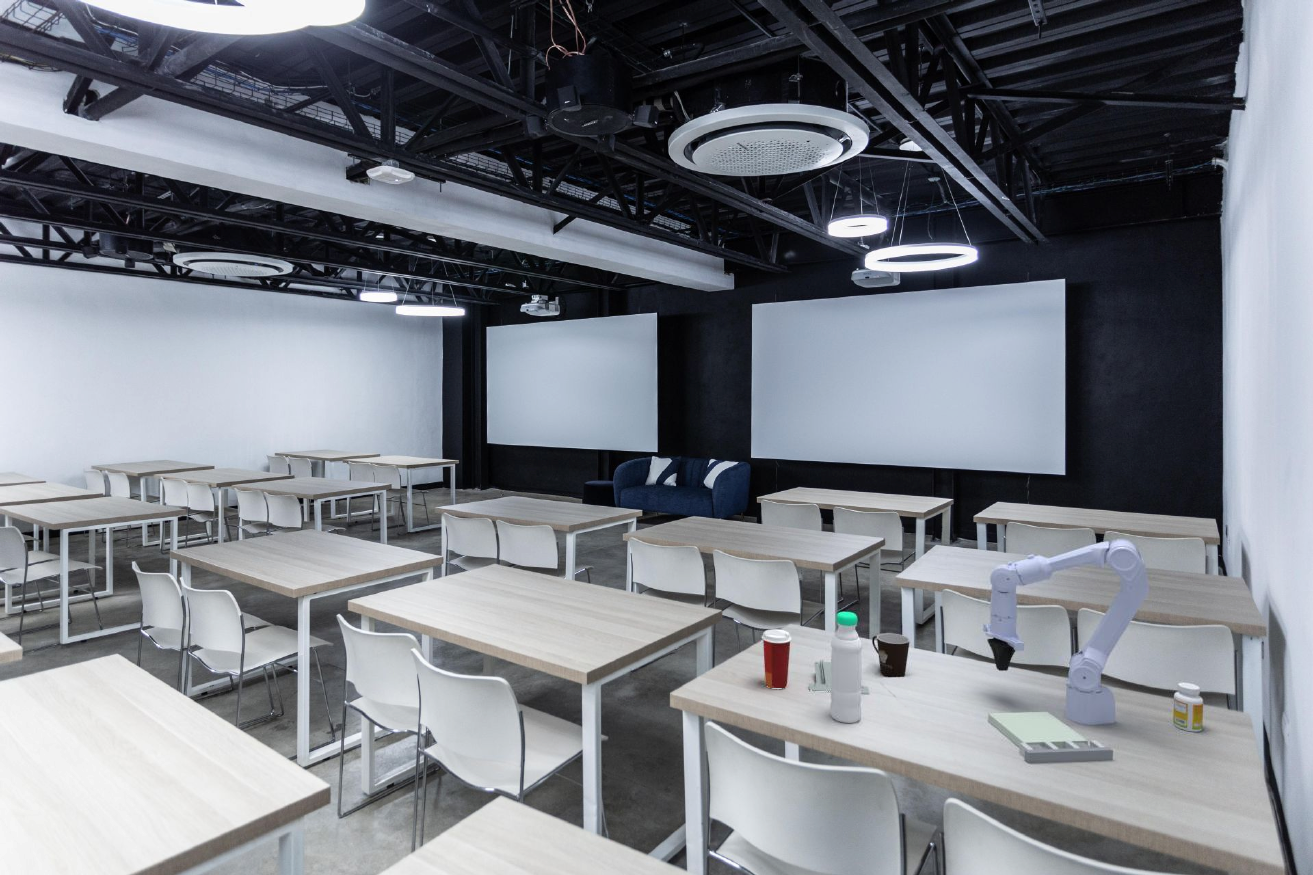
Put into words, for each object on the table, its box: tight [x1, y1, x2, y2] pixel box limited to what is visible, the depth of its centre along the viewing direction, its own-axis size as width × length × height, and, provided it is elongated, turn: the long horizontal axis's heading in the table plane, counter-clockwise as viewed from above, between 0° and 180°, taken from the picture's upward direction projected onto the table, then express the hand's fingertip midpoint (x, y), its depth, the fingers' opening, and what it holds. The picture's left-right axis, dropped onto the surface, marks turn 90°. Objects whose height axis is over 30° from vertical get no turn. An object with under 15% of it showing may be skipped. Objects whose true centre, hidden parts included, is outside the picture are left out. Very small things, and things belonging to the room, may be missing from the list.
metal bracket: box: [808, 659, 870, 696], centre depth 187 cm, size 14×6×15 cm
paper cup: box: [761, 628, 792, 689], centre depth 186 cm, size 8×8×14 cm
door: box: [987, 711, 1095, 750], centre depth 154 cm, size 14×17×2 cm
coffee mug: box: [871, 632, 911, 679], centre depth 195 cm, size 12×9×10 cm
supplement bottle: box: [1172, 682, 1204, 733], centre depth 162 cm, size 5×5×10 cm
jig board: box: [1018, 739, 1114, 764], centre depth 157 cm, size 18×26×4 cm
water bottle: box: [829, 611, 863, 724], centre depth 167 cm, size 7×7×25 cm
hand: (1002, 669), depth 172 cm, fingers closed
